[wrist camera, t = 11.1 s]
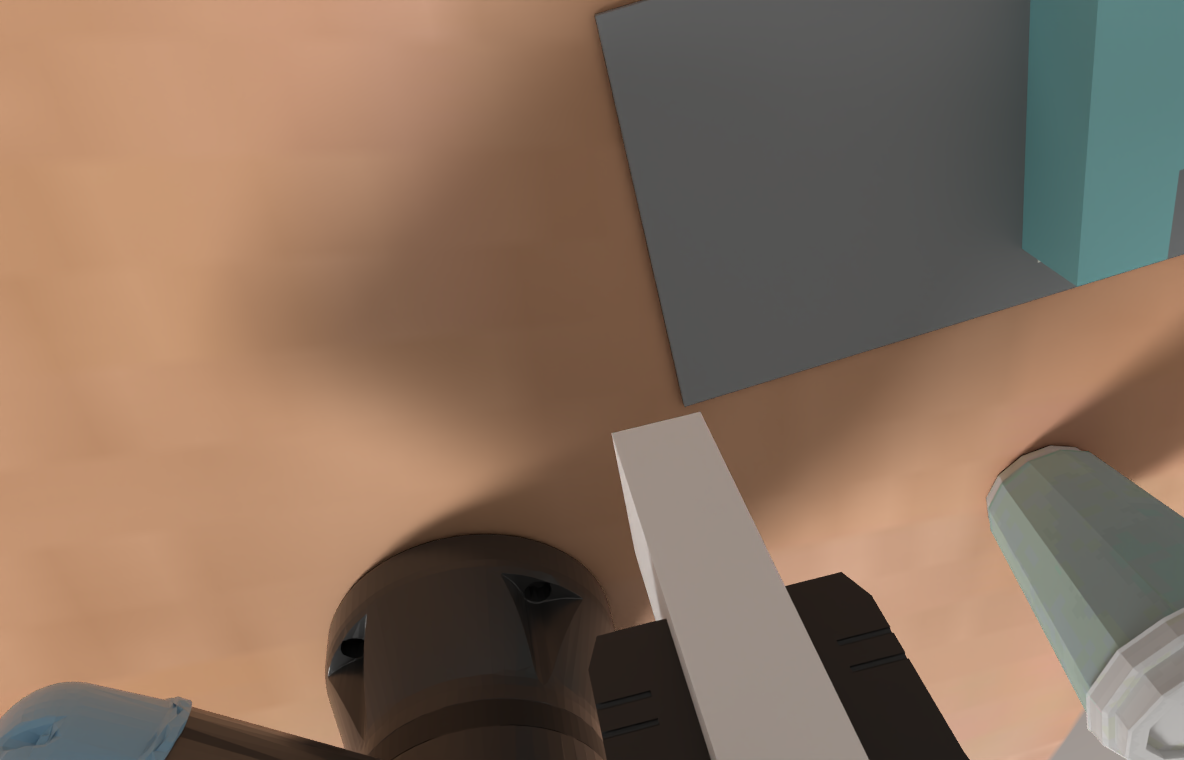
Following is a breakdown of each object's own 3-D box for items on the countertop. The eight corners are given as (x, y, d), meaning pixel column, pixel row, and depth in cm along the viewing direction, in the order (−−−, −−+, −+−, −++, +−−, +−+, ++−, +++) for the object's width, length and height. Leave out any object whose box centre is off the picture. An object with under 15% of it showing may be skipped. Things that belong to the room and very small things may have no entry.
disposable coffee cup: (1143, 495, 51) (1379, 712, 39) (978, 591, 53) (1152, 826, 41) (1094, 376, 46) (1351, 584, 33) (912, 488, 48) (1090, 723, 35)
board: (1358, 197, 43) (1363, 199, 42) (683, 403, 42) (684, 406, 42) (1474, -249, 33) (1482, -249, 33) (594, 14, 32) (595, 16, 32)
